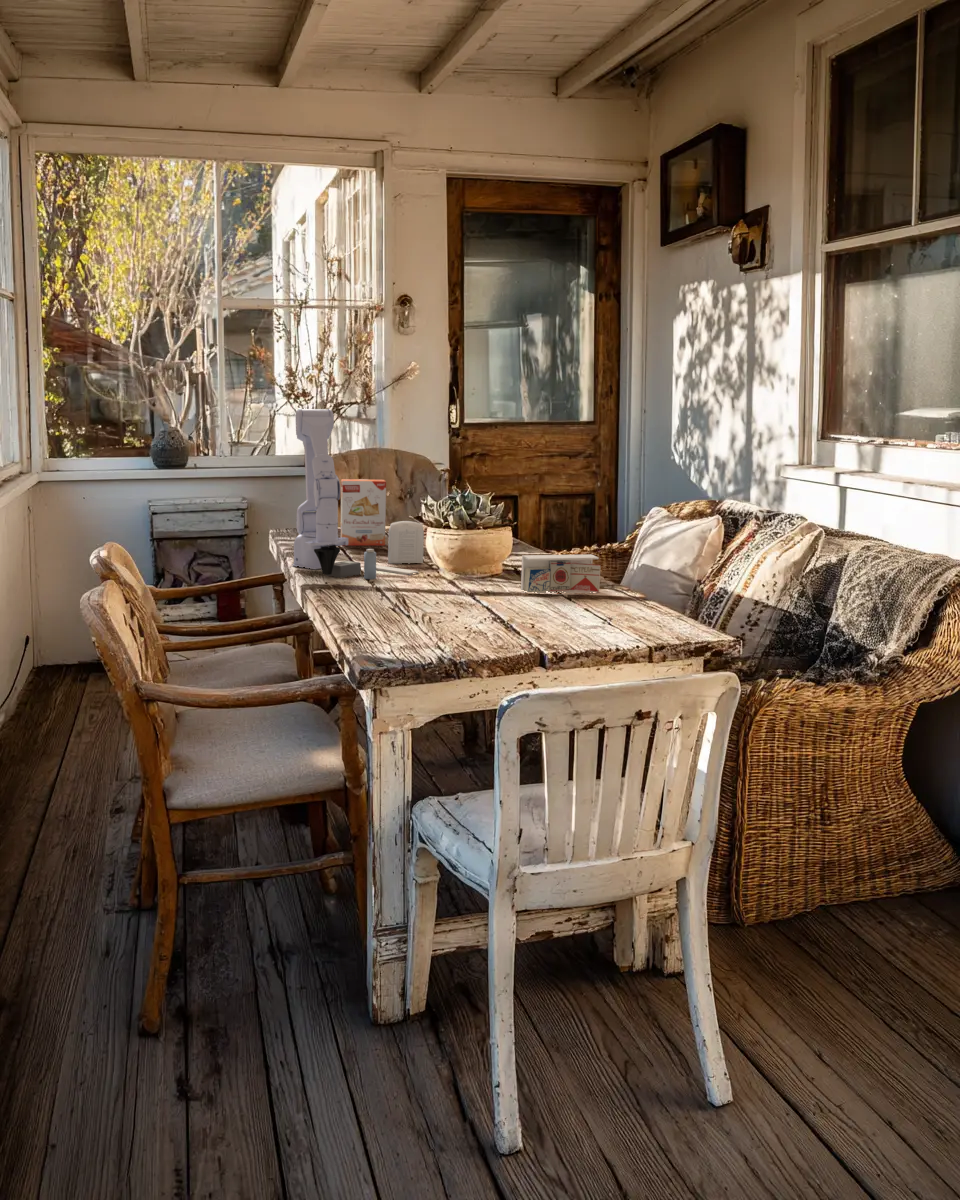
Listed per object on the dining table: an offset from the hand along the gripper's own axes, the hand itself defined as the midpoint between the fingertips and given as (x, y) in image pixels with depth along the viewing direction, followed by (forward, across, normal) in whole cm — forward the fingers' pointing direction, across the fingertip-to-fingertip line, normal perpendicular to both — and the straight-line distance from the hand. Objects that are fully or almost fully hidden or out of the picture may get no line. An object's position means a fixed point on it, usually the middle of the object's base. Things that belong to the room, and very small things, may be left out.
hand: (327, 574), depth 314 cm
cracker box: (+1, +52, +35) cm, 63 cm away
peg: (+1, +8, -8) cm, 12 cm away
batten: (+1, +21, -5) cm, 21 cm away
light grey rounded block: (+1, +34, +1) cm, 34 cm away
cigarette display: (+1, +26, -58) cm, 63 cm away
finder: (+1, +6, 0) cm, 7 cm away
